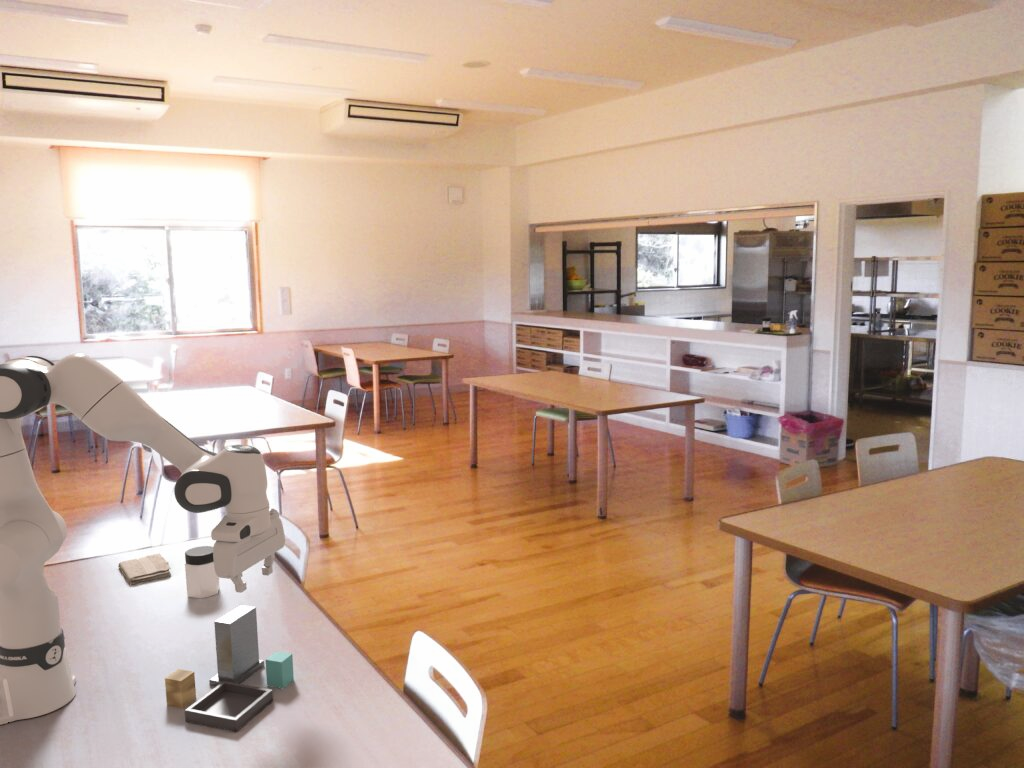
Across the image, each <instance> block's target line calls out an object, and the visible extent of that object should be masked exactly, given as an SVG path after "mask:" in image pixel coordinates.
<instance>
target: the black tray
mask: <svg viewBox="0 0 1024 768" xmlns="http://www.w3.org/2000/svg"><path fill="white" fill-rule="evenodd" d="M272 701H273V702H274V690H273V689H269V688H265V687H260V686H259V687H258V686H255V685H249V684H243V683H241V684H238V683H232V682H227V681H223V682H222V683H221V684H219V685H218V686H214V688H212V689H211V690H209V691H208V692H207V693H206V694H204V695H203V696H201V697H200V698H198V700H197V701H196V700H195V702H194V703H192V704H191V705H190V706H188V707H187V708H186V709H185V710H184V717H185V718H184V719H185V723H189V724H193V725H194V724H195V725H199V726H204V727H209V728H214V729H219V730H223V731H228V732H229V731H230V732H234V733H238V731H240V730H241V729H242V728H244V727H245V726H246V725H247V724H248V723H249V722H250V721H252V720H253V719H254V718H256V716H258V715H259V713H261V712H262V711H263V710H265V709H266V708H267V707H268V706H269V705H270V704H272V703H273V702H272Z"/></svg>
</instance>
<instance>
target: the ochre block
mask: <svg viewBox="0 0 1024 768" xmlns="http://www.w3.org/2000/svg"><path fill="white" fill-rule="evenodd" d="M195 679H196V677H195V671H192V670H191V671H190V670H186V669H178V668H177V669H176V670H175V671H174V672H172V673H171V674H168V676H166V677H165V678H164V684H165V685H164V686H165V697H166V705H167V707H168V706H170V707H172V706H173V708H178V709H179V708H180V709H184V708H186V707H187V706H188V705H190V704H191V703H192V701H193V700H194V701H196V700H197V691H196V690H197V689H196V680H195ZM194 701H193V702H194ZM190 702H191V703H190ZM189 703H190V704H189ZM185 706H186V707H185Z"/></svg>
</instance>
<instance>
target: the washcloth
mask: <svg viewBox="0 0 1024 768" xmlns="http://www.w3.org/2000/svg"><path fill="white" fill-rule="evenodd" d="M118 568H119V570H120V572H122V575H123V576H124V577H125V578H126V579H127V581H128V583H129V585H130V586H133V585H134V584H135V585H136V584H137V585H138V584H144V583H148V582H153V581H158V580H163V579H167V578H169V577H171V576H172V573H171V572H170V570H172V567H171V566H170V564H169V561H167V560H166V559H165V558H164V556H162V554H160V553H155V554H150V555H146V556H144V557H139V558H134V559H130V560H125V561H120V562H119V563H118ZM162 578H163V579H162Z"/></svg>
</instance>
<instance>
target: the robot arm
mask: <svg viewBox="0 0 1024 768" xmlns="http://www.w3.org/2000/svg"><path fill="white" fill-rule="evenodd" d="M51 404H55V405H59V406H61V407H64V408H65V409H67V410H68V411H69V412H70V413H72V414H73V415H74V416H75V417H76V418H77V419H79V420H80V421H81V422H82V423H83V424H84V425H85V426H86V427H88V428H89V429H91V431H93V432H94V433H96V434H98V435H99V436H101V437H103V438H105V439H106V440H108V441H113V442H134V443H138V444H139V443H140V444H141V445H145V446H147V447H149V448H151V449H152V450H154V451H155V452H156V453H158V455H160V456H161V457H162V458H164V459H165V460H167V461H168V462H169V463H171V465H173V466H174V467H175V468H177V469H178V470H179V471H180V473H181V475H180V476H179V477H178V479H177V481H175V484H174V488H173V491H174V492H173V493H174V497H175V500H176V502H177V503H178V505H179V506H180V507H181V508H182V509H184V510H185V511H187V512H189V513H194V514H200V513H206V512H210V511H214V510H215V511H216V510H218V509H220V508H221V509H222V508H223V507H224V508H225V515H224V516H223V517H222V518H221V520H220V521H219V523H217V525H216V526H215V527H214V528H213V529H212V530H211V532H210V536H211V539H212V540H213V541H215V542H214V544H213V546H212V547H213V559H214V568H215V573H216V575H217V576H218V577H219V579H228V580H231V582H232V583H233V584H234V590H235V592H236V593H243V592H245V591H247V589H248V587H247V581H243V580H242V579H243V578H242V577H243V572H245V571H247V570H248V569H250V568H251V567H253V566H255V565H256V564H259V562H262V561H263V566H262V567H261V574H262V575H263V576H267V577H268V576H270V575H271V574H273V571H274V569H273V565H274V561H275V558H276V552H278V551H280V550H282V549H284V548H285V543H286V535H285V530H284V526H283V521H282V519H281V518H280V513H279V512H278V510H276V509H275V508H270V501H269V499H268V497H267V489H268V476H267V469H266V464H265V460H264V457H263V454H262V452H261V451H260V450H259V449H258V448H257V447H254V446H251V445H248V444H247V445H246V444H230V445H227V446H225V447H224V448H223V449H222V450H220V452H218V453H217V452H213V451H210V450H208V449H205V448H203V447H201V446H199V445H198V444H196V443H195V442H194V440H192V439H190V438H189V437H188V436H186V434H184V433H183V432H181V430H179V429H178V428H176V426H174V425H173V424H171V423H170V422H169V421H168V420H166V419H165V418H164V417H163V416H161V415H160V414H159V412H157V411H156V410H155V409H154V408H153V407H151V406H150V405H149V404H148V403H147V402H146V401H145V400H144V399H143V398H142V397H141V395H139V394H138V393H137V392H136V391H135V390H134V389H133V388H132V387H130V386H129V384H127V383H126V381H124V380H123V379H122V378H120V377H119V376H118V375H117V374H116V373H114V372H113V371H112V370H111V369H109V368H108V367H106V366H105V365H104V364H102V363H100V362H98V361H97V360H95V359H94V358H93V357H90V356H89V355H86V354H84V353H72V354H68V355H66V356H64V357H63V358H61V359H60V360H58V361H56V363H54V362H53V361H52V360H50V359H47V358H45V357H41V356H39V355H37V356H36V355H27V356H24V357H16V358H12V359H8V360H6V361H4V362H2V363H1V364H0V725H5V724H8V722H9V723H12V722H14V721H18V720H25V719H31V718H36V717H40V716H43V715H46V714H49V713H52V712H54V711H56V710H58V709H61V708H62V707H64V706H66V705H68V704H69V702H71V701H72V700H73V699H74V697H75V696H76V695H77V690H76V687H75V684H76V682H77V677H76V676H75V675H74V674H73V673H72V668H71V665H70V664H71V663H70V659H69V655H68V651H67V649H66V645H65V644H66V643H65V640H66V637H65V633H64V630H63V628H61V620H60V619H61V618H60V608H59V599H58V595H57V593H56V592H55V591H53V590H52V589H50V586H49V585H48V583H47V580H46V577H45V574H44V573H45V572H44V568H45V564H46V563H47V561H49V560H50V559H51V558H52V557H53V556H55V555H56V554H57V553H58V552H59V551H60V549H61V547H62V546H63V544H64V542H65V540H66V538H67V535H68V527H67V523H66V521H65V519H64V518H63V517H62V515H61V514H60V513H58V512H57V511H55V510H53V509H52V508H51V507H50V505H49V503H48V501H47V500H46V498H45V497H44V495H43V493H42V491H41V489H40V487H39V484H37V483H38V482H37V481H36V477H35V474H34V470H33V467H32V465H31V460H30V457H29V454H28V450H27V446H26V443H25V440H24V436H23V432H22V421H23V419H24V418H25V417H26V416H29V415H31V414H34V413H36V412H38V411H40V410H42V409H43V408H45V407H46V406H48V405H51Z"/></svg>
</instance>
